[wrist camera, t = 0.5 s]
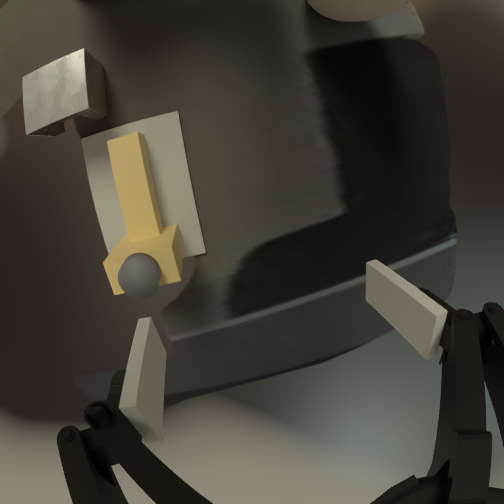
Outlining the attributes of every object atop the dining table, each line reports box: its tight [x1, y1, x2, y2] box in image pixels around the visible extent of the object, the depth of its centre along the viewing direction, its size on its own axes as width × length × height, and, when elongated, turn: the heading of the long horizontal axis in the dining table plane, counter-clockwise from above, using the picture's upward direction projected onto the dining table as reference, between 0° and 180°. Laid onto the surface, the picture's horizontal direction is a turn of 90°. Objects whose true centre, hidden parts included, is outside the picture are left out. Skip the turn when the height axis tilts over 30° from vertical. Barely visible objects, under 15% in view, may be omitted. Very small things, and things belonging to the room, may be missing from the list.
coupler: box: [103, 132, 184, 299], centre depth 31 cm, size 17×8×12 cm, turn 9°
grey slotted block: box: [22, 48, 109, 136], centre depth 26 cm, size 8×9×8 cm
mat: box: [81, 111, 206, 258], centre depth 36 cm, size 20×14×1 cm
